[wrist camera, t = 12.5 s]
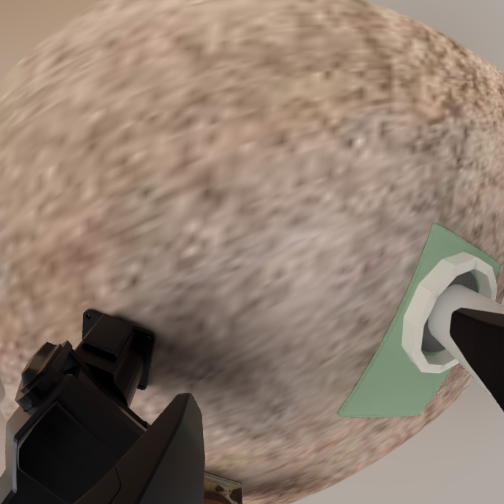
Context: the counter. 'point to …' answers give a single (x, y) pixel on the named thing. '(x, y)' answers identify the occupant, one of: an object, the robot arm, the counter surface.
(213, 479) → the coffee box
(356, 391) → the practice green
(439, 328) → the white coffee cup
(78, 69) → the counter surface
